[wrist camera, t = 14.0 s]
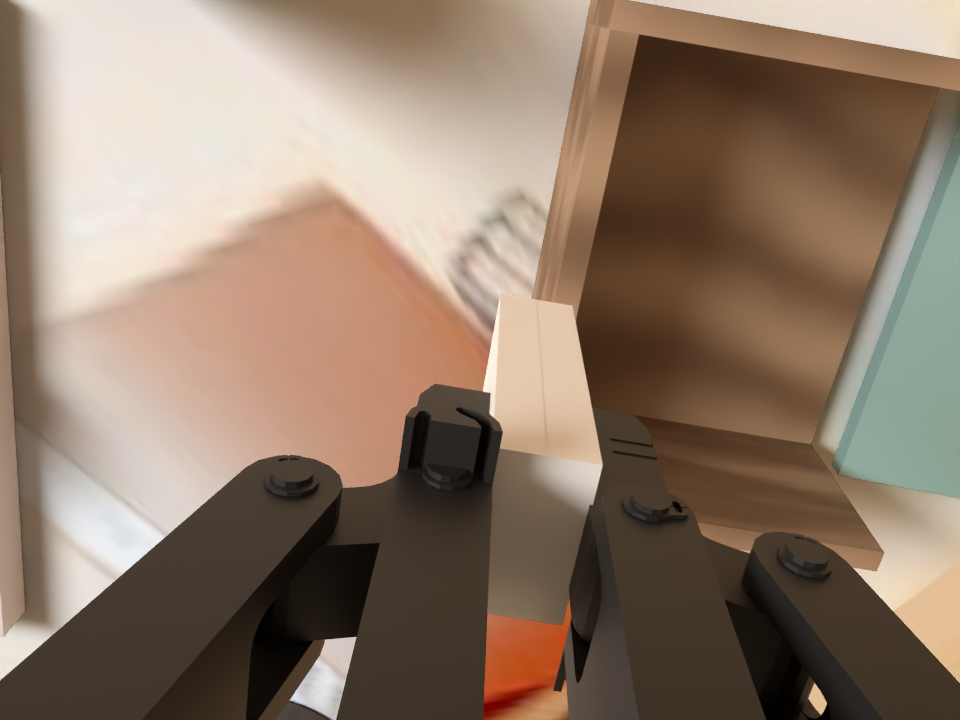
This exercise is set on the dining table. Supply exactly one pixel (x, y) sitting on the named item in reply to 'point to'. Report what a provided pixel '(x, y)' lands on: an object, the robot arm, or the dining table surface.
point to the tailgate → (916, 364)
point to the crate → (730, 246)
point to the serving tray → (8, 472)
